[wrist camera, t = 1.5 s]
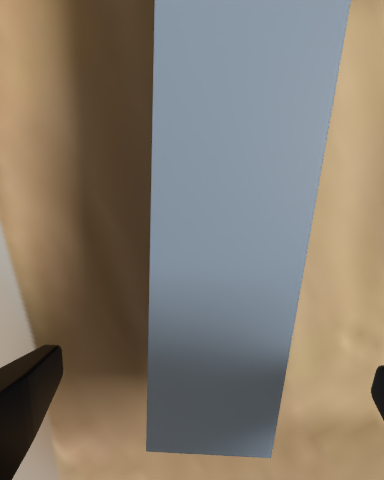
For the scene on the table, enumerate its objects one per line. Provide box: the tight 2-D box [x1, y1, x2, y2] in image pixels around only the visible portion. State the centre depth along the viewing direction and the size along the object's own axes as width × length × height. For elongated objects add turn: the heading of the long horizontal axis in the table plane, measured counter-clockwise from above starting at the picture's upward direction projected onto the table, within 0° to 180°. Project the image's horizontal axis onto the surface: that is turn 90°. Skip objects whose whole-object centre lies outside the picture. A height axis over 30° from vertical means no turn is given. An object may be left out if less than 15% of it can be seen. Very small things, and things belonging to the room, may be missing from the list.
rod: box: [146, 0, 351, 458], centre depth 8 cm, size 16×4×4 cm, turn 177°
